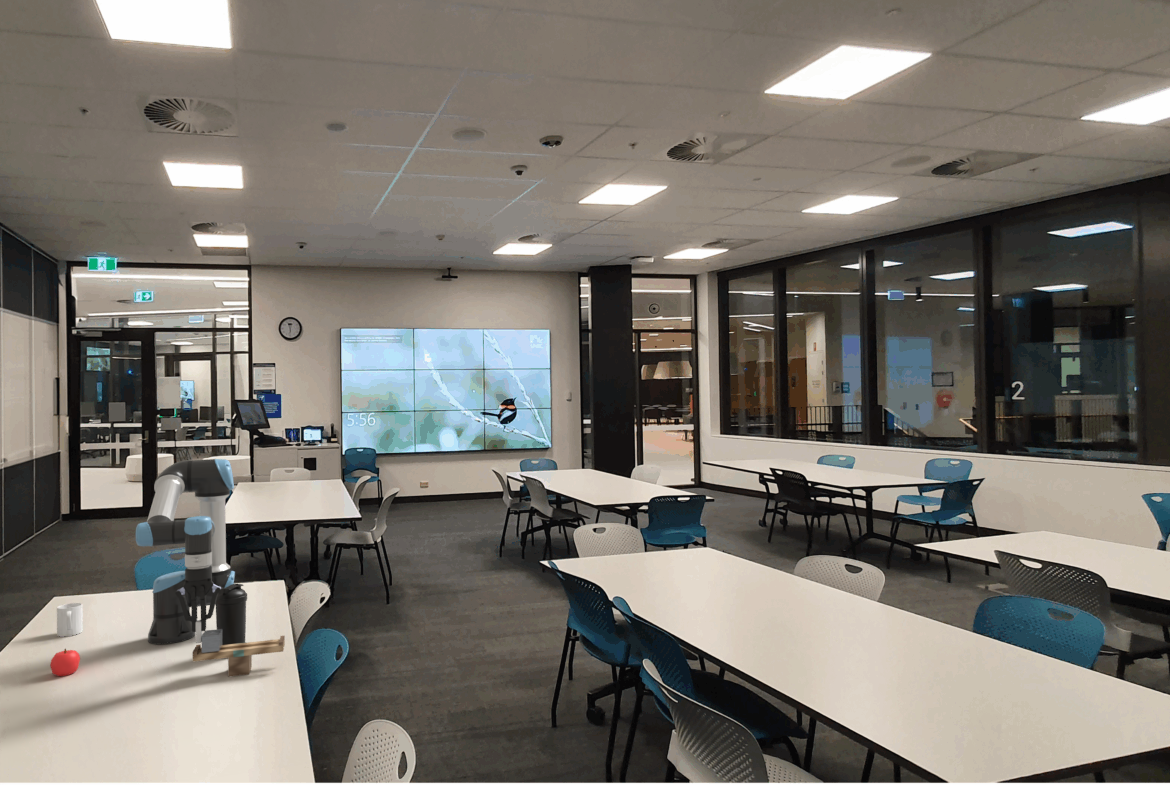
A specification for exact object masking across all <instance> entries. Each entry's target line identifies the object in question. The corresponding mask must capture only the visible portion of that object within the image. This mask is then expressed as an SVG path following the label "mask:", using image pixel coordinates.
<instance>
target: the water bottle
mask: <svg viewBox="0 0 1170 785" xmlns="http://www.w3.org/2000/svg"><path fill="white" fill-rule="evenodd" d="M244 586H245V585H244V584H243V583H242V584H241V583H234V584H231V585H230V586H228V587H226V588H221V590H220V591H219V593H218V595H217V599H216V603H215V620H216V621H215V622H216V623H215V624H216V630H217V629H222V645H229V644H237V643H246V632H247V631H246V628H247V627H246V625H247V601H248V593H247V592H246V591H245V590H244V588H242V587H244Z"/></svg>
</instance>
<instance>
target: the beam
mask: <svg viewBox="0 0 1170 785" xmlns="http://www.w3.org/2000/svg"><path fill="white" fill-rule="evenodd" d="M285 638H286V637H285V635H280V638H278V639H277V638H276V639H267V640H259V641H250V642H247V641H245V643H237V644H229V645H222V647H221V649H220V651H215V652H205V653H202V643H201V644H200V643H199V644H196V645H195V647H194V649H192V662H193V663H194V662H201V661H202V662H203V661H208V660H209V661H211V660H220V659H228V663H227V665H228V666H227V667H228V668H227V669H228V670H227V671H228V677H229V678H230V677H238V676H247V675H250V673H251V671H252V667H253V666H252V665H253V664H252V663H253V662H252V661H253V659H252V656H255V655H263V654H264V655H265V654H272V653H282V652H284V649H285V648H284V647H285V644H286V643H285V642H286V640H285Z"/></svg>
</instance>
